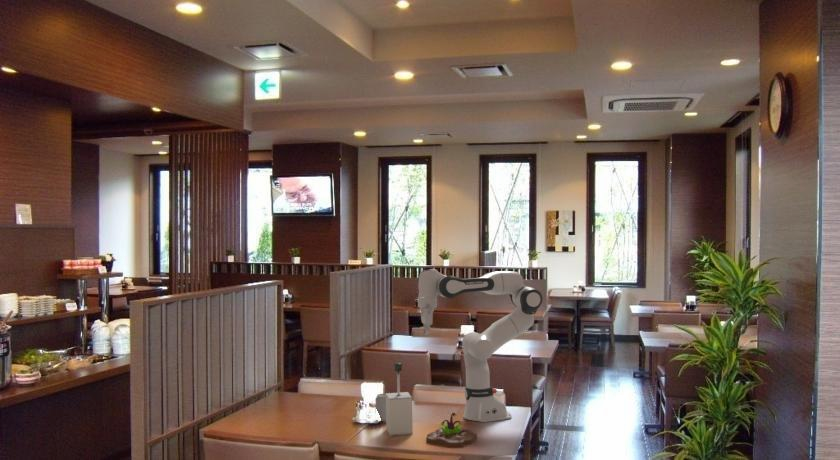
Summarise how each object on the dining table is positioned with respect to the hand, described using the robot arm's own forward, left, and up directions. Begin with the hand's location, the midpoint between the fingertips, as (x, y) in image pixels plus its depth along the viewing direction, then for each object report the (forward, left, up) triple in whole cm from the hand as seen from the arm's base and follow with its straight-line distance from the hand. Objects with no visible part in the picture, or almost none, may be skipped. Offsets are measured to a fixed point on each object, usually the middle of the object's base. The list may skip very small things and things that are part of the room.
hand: (426, 334), depth 316 cm
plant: (-4, +29, -41) cm, 51 cm away
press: (+16, +13, -40) cm, 45 cm away
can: (+20, -7, -41) cm, 46 cm away
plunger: (+16, +13, -32) cm, 38 cm away
